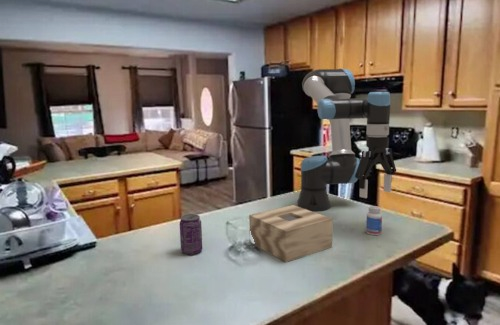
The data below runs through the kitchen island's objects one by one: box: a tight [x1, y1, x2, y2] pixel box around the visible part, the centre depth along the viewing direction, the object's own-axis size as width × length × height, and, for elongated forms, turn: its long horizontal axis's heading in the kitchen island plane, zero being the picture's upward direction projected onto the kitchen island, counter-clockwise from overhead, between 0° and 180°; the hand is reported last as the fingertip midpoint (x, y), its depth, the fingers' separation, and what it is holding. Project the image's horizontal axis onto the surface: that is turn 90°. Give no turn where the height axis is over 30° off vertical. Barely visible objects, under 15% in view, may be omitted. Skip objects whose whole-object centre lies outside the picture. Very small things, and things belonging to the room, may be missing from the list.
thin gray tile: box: [282, 216, 298, 221], centre depth 123 cm, size 6×6×1 cm
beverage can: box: [179, 213, 203, 256], centre depth 119 cm, size 7×7×12 cm
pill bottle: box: [365, 205, 383, 236], centre depth 133 cm, size 6×5×10 cm
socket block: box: [248, 204, 334, 263], centre depth 124 cm, size 20×20×10 cm
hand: (375, 194), depth 131 cm, fingers open, 13 cm apart
